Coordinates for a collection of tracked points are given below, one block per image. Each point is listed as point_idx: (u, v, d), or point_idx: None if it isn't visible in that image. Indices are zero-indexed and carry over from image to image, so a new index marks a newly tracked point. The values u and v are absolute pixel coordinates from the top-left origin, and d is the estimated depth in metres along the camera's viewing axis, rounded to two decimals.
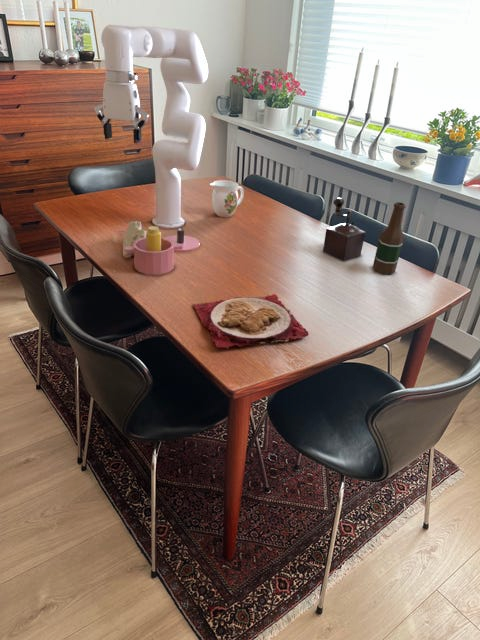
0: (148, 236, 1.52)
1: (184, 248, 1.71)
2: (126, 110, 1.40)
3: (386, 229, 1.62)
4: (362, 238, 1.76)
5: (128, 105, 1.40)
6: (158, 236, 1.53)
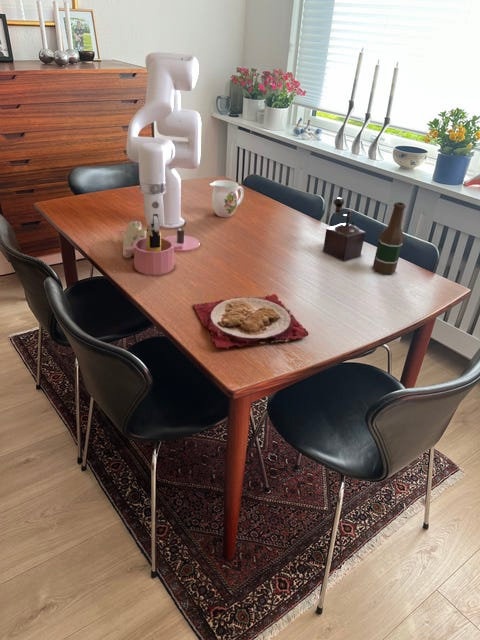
0: (148, 236, 1.52)
1: (184, 248, 1.71)
2: (147, 217, 1.47)
3: (386, 229, 1.62)
4: (362, 238, 1.76)
5: (147, 213, 1.46)
6: None
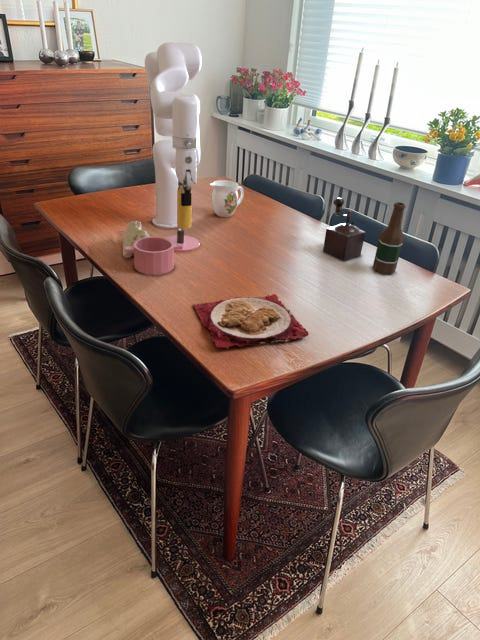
0: (179, 194, 1.50)
1: (184, 248, 1.71)
2: (179, 173, 1.45)
3: (386, 229, 1.62)
4: (362, 238, 1.76)
5: (179, 168, 1.44)
6: None
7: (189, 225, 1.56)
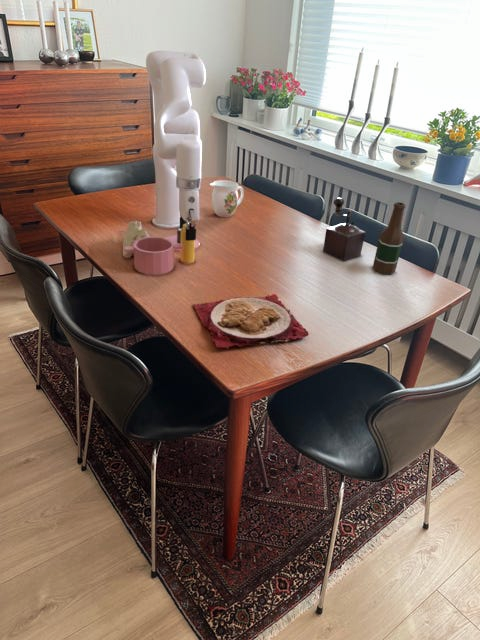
0: (183, 233, 1.58)
1: None
2: (182, 211, 1.52)
3: (386, 229, 1.62)
4: (362, 238, 1.76)
5: (183, 207, 1.51)
6: None
7: (192, 261, 1.64)
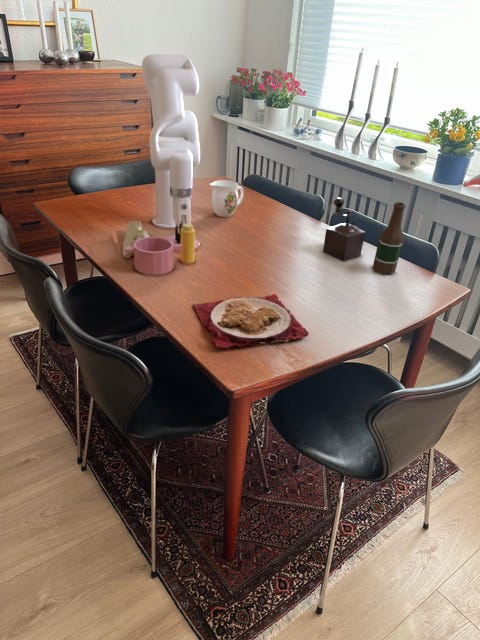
0: (183, 233, 1.58)
1: None
2: (176, 217, 1.67)
3: (386, 229, 1.62)
4: (362, 238, 1.76)
5: (176, 214, 1.66)
6: (192, 233, 1.58)
7: (192, 261, 1.64)
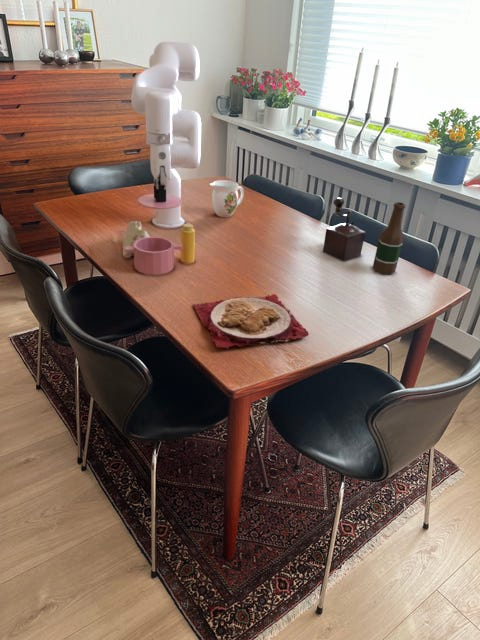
0: (183, 233, 1.58)
1: (164, 206, 1.48)
2: (153, 169, 1.44)
3: (386, 229, 1.62)
4: (362, 238, 1.76)
5: (153, 164, 1.43)
6: (192, 233, 1.58)
7: (192, 261, 1.64)
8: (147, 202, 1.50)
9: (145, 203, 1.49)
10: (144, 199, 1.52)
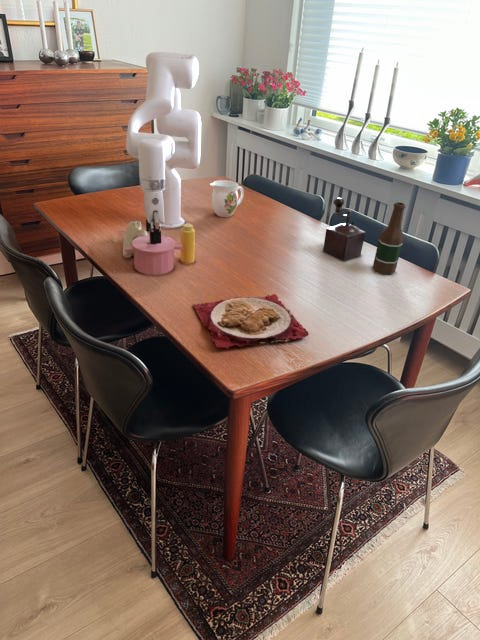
0: (183, 233, 1.58)
1: (157, 249, 1.51)
2: (146, 213, 1.47)
3: (386, 229, 1.62)
4: (362, 238, 1.76)
5: (147, 209, 1.45)
6: (192, 233, 1.58)
7: (192, 261, 1.64)
8: (141, 245, 1.53)
9: (139, 246, 1.52)
10: (138, 242, 1.55)
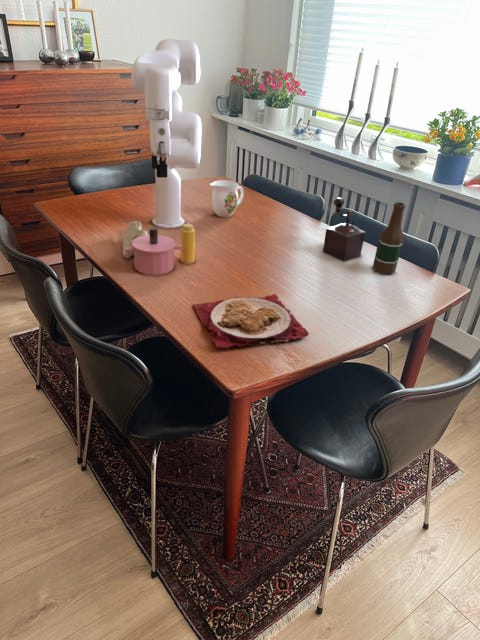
0: (183, 233, 1.58)
1: (157, 249, 1.51)
2: (153, 145, 1.45)
3: (386, 229, 1.62)
4: (362, 238, 1.76)
5: (153, 140, 1.44)
6: (192, 233, 1.58)
7: (192, 261, 1.64)
8: (141, 245, 1.53)
9: (139, 246, 1.52)
10: (138, 242, 1.55)
